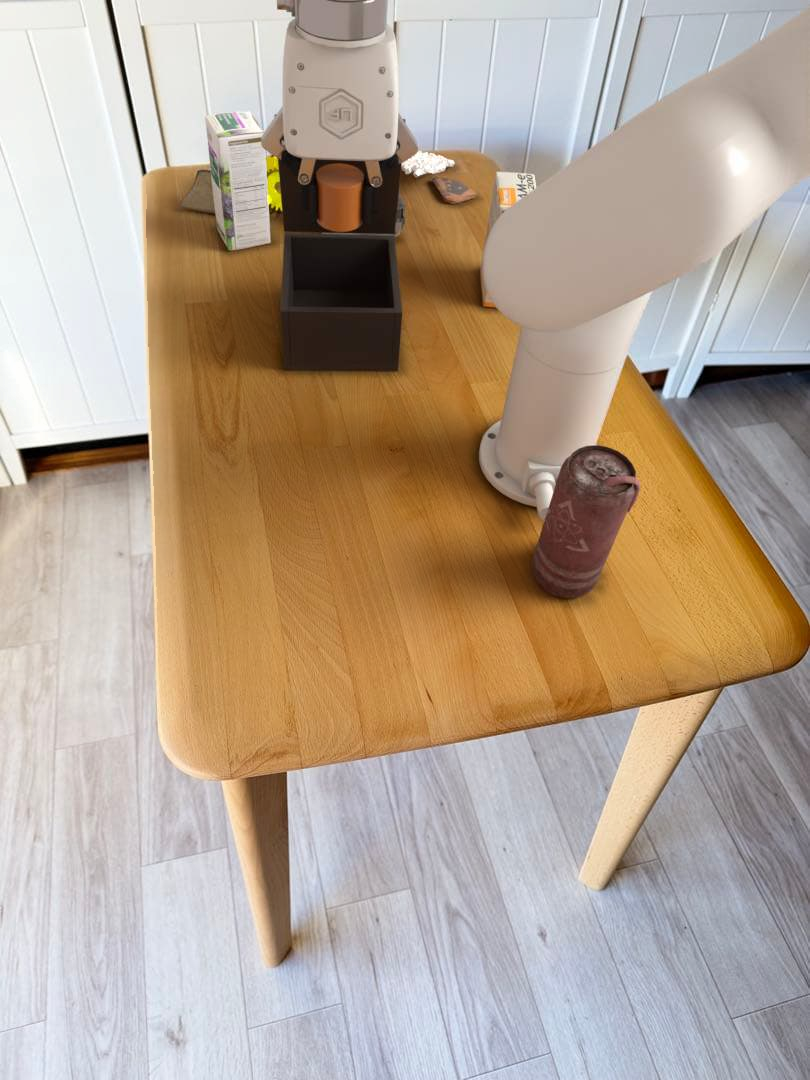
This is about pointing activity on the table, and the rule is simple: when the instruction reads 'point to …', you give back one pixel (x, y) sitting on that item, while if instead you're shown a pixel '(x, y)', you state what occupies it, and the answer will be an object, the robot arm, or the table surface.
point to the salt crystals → (426, 164)
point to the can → (583, 520)
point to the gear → (273, 185)
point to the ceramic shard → (200, 194)
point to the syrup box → (238, 179)
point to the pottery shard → (453, 190)
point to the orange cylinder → (339, 197)
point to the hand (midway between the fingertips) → (339, 215)
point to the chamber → (340, 302)
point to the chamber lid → (301, 222)
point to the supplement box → (505, 206)
